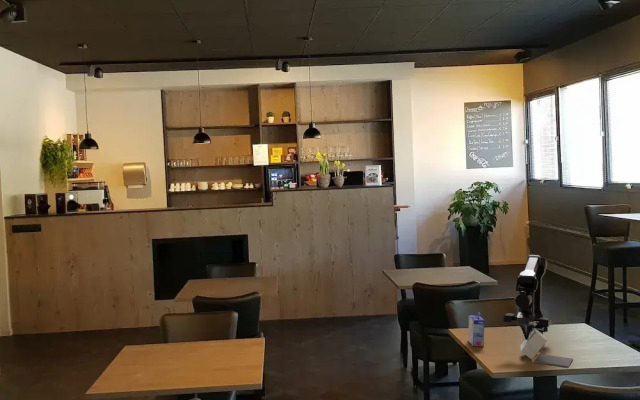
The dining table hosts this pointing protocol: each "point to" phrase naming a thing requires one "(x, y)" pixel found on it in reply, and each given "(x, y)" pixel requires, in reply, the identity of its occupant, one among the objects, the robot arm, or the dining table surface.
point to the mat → (552, 360)
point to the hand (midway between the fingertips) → (526, 339)
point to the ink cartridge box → (476, 330)
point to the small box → (533, 344)
